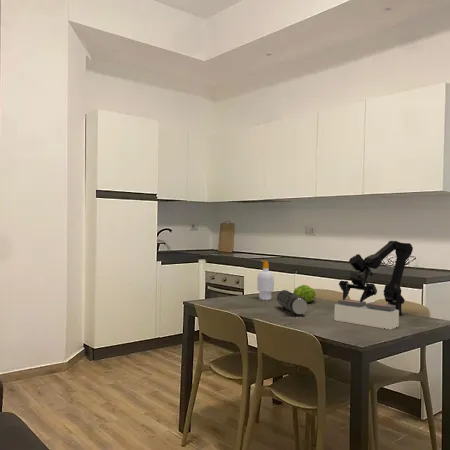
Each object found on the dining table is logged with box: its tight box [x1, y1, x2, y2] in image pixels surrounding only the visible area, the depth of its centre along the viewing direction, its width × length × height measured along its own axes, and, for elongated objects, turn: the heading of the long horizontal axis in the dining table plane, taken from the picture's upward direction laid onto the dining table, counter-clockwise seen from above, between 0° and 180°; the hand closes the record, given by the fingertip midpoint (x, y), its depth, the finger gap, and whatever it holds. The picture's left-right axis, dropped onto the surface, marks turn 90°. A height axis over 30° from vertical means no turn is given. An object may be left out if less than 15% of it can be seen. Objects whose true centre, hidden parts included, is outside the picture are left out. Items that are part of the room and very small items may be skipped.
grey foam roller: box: [276, 289, 308, 316], centre depth 260 cm, size 10×28×10 cm, turn 10°
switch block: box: [333, 303, 400, 331], centre depth 232 cm, size 9×29×8 cm, turn 47°
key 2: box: [366, 301, 396, 311], centre depth 227 cm, size 6×12×2 cm, turn 47°
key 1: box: [337, 298, 367, 307], centre depth 237 cm, size 6×12×2 cm, turn 48°
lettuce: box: [292, 284, 317, 303], centre depth 297 cm, size 12×24×13 cm
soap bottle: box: [256, 260, 275, 301], centre depth 301 cm, size 10×10×24 cm
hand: (351, 300), depth 237 cm, fingers open, 9 cm apart
